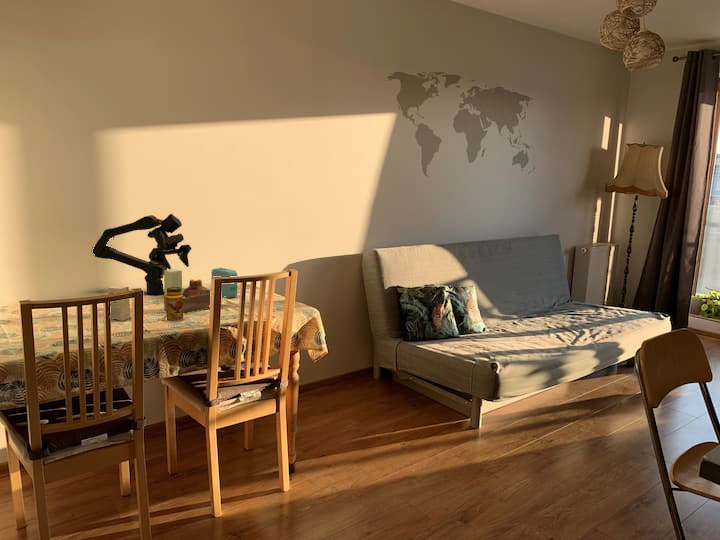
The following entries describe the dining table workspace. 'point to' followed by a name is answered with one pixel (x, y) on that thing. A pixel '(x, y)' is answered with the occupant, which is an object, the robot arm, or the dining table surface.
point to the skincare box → (119, 304)
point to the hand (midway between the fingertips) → (179, 267)
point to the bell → (193, 288)
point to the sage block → (172, 279)
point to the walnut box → (195, 301)
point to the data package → (227, 289)
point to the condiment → (174, 305)
